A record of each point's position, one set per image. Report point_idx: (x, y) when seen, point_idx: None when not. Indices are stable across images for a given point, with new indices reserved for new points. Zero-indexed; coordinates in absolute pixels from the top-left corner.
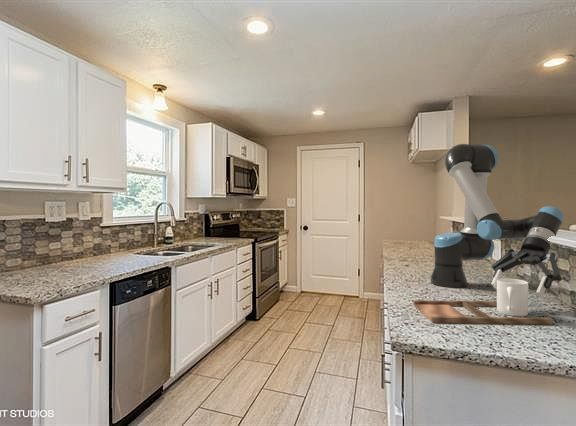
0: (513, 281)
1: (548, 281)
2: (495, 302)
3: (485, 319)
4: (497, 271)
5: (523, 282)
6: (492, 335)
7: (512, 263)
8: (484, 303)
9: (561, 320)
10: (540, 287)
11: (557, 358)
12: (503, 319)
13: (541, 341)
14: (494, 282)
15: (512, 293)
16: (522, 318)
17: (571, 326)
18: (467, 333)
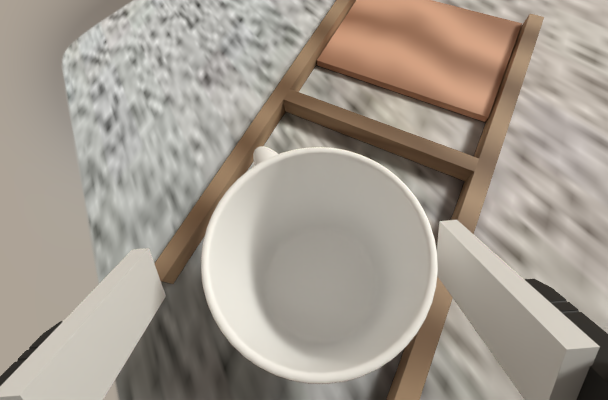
0: (369, 356)
1: (19, 365)
2: None
3: (284, 79)
4: (560, 313)
5: (278, 361)
6: (223, 41)
7: None
8: None
9: (153, 381)
10: (110, 278)
11: (84, 53)
12: (254, 123)
13: (133, 103)
14: (447, 232)
15: (254, 163)
16: (218, 177)
17: None
18: (262, 6)
